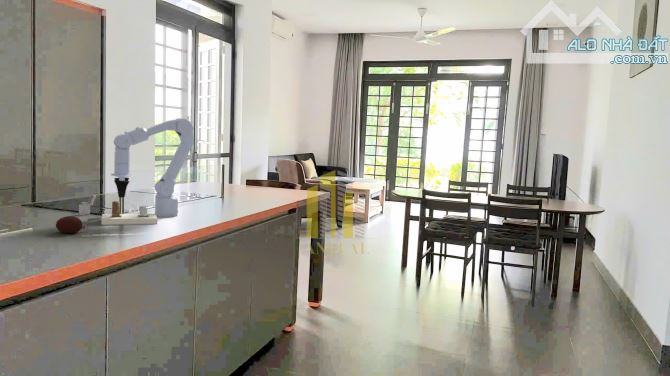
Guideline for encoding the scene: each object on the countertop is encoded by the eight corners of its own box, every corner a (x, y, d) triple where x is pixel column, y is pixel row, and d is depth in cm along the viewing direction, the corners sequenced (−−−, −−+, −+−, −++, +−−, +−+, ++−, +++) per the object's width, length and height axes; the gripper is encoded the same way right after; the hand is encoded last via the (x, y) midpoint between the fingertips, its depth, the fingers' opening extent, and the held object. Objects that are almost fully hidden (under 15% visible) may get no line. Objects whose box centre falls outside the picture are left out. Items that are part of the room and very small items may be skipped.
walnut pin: (119, 221, 189) (119, 201, 188) (119, 222, 186) (120, 202, 185) (111, 221, 187) (112, 201, 186) (111, 222, 185) (112, 202, 184)
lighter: (81, 215, 198) (81, 196, 197) (78, 214, 199) (78, 196, 198) (96, 213, 205) (96, 195, 204) (93, 212, 206) (93, 194, 205)
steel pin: (146, 220, 193) (146, 206, 192) (147, 222, 190) (147, 207, 190) (139, 220, 192) (139, 206, 191) (139, 222, 189) (139, 207, 188)
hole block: (155, 220, 198) (155, 213, 197) (157, 225, 189) (157, 218, 188) (102, 221, 189) (102, 214, 189) (101, 226, 180) (101, 219, 180)
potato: (57, 230, 170) (57, 214, 169) (83, 230, 173) (83, 214, 172) (54, 235, 163) (54, 218, 162) (81, 234, 166) (81, 218, 165)
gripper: (111, 161, 201) (111, 193, 202) (111, 164, 188) (110, 198, 189) (129, 162, 204) (129, 193, 205) (130, 165, 191) (129, 198, 192)
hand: (121, 195), depth 197 cm, fingers open, 7 cm apart
